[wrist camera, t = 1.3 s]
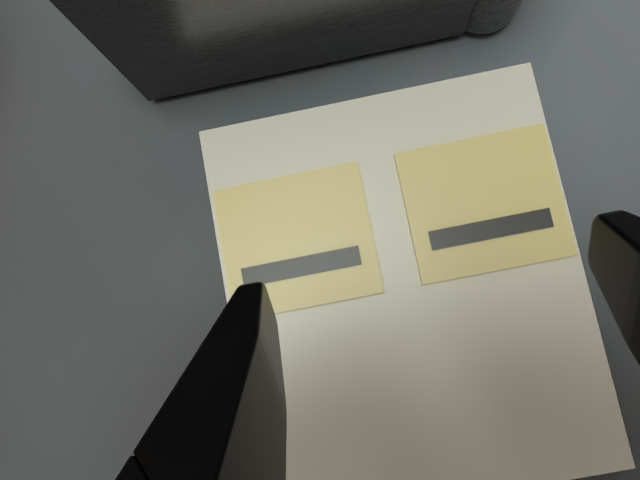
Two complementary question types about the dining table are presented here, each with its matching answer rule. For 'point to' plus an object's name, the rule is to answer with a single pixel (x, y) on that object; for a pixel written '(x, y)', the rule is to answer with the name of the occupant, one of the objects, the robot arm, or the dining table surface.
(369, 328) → the label board
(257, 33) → the swing panel
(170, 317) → the dining table surface
